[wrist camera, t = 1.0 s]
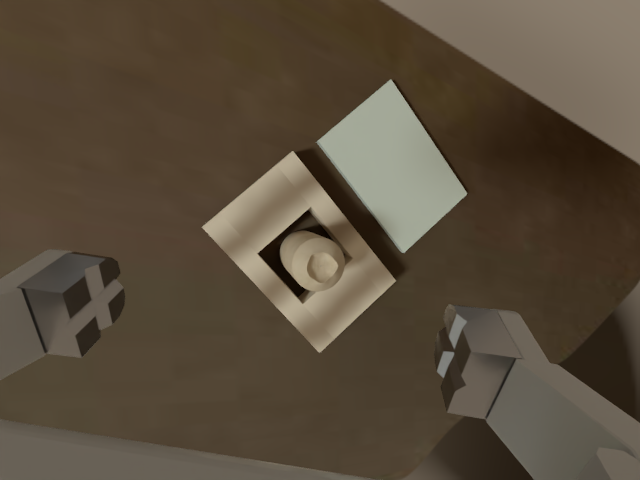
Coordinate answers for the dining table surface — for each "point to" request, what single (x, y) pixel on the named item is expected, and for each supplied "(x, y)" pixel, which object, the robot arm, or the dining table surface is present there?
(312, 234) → the candle
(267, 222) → the socket block
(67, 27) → the dining table surface
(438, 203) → the sage mat
